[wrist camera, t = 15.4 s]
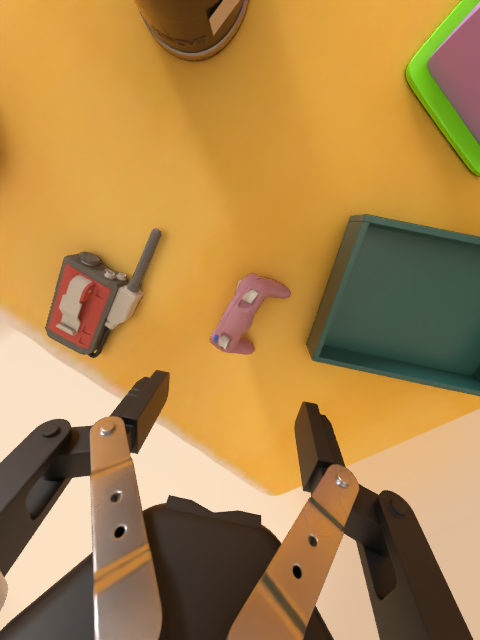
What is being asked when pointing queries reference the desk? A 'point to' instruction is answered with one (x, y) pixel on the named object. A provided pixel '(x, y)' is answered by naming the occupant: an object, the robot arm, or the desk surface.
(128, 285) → the walkie-talkie
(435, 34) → the dollhouse room
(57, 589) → the robot arm
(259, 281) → the video game controller
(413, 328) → the tray
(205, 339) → the desk surface
